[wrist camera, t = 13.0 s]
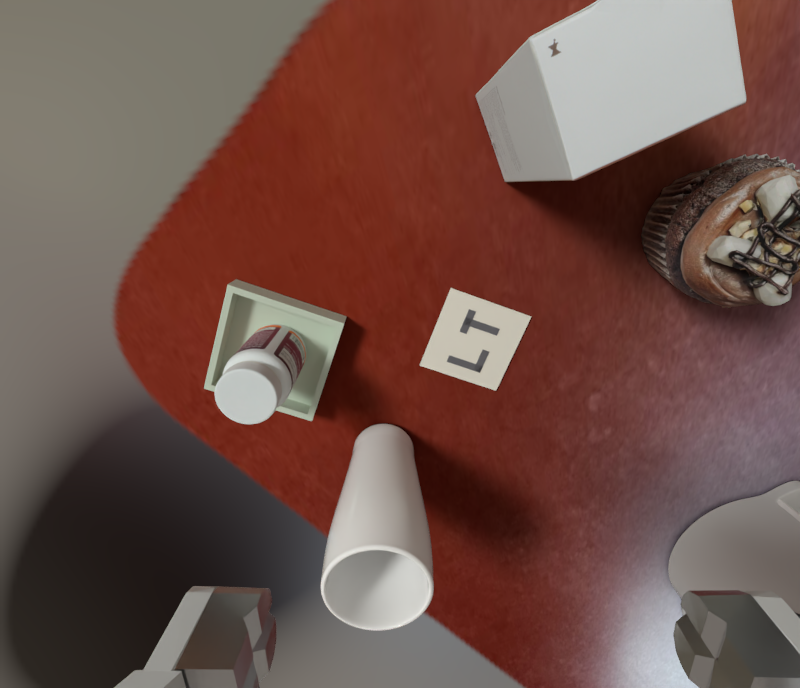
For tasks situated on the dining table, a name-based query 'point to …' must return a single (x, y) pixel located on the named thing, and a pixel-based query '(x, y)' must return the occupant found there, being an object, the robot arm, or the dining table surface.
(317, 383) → the sage tray
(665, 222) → the cupcake
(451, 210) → the dining table surface
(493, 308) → the coaster
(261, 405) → the pill bottle
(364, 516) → the drinking glass
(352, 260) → the dining table surface
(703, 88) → the small box
